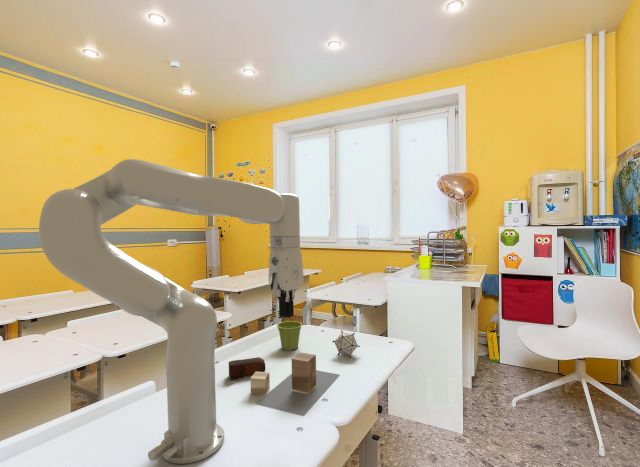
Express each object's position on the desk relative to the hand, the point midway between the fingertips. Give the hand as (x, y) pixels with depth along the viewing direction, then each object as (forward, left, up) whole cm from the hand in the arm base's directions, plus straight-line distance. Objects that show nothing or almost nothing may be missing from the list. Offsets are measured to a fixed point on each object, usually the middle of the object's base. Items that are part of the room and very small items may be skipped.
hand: (286, 316), depth 87 cm
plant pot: (+36, +20, -23) cm, 47 cm away
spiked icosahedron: (+37, -2, -23) cm, 44 cm away
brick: (+11, +21, -24) cm, 33 cm away
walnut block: (+9, 0, -23) cm, 24 cm away
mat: (+9, +1, -23) cm, 25 cm away
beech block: (+3, +11, -23) cm, 26 cm away
